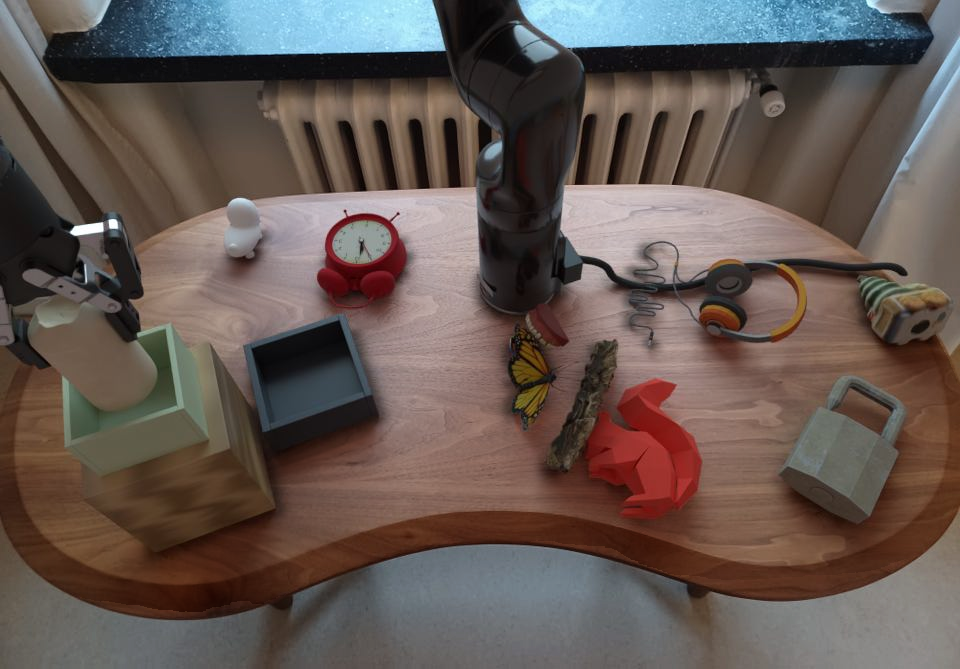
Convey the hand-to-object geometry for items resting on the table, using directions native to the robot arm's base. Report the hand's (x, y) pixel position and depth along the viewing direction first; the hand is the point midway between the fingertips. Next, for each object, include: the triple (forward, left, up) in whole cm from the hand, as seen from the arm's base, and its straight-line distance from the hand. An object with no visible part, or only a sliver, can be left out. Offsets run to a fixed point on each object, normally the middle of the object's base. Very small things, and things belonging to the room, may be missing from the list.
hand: (89, 345), depth 50 cm
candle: (0, 0, -6) cm, 6 cm away
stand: (0, 0, -25) cm, 25 cm away
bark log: (-40, +9, -25) cm, 48 cm away
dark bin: (-13, -6, -25) cm, 29 cm away
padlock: (-56, +26, -23) cm, 66 cm away
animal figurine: (-43, +15, -25) cm, 52 cm away
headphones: (-60, +1, -25) cm, 65 cm away
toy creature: (-10, -31, -25) cm, 41 cm away
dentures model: (-39, -1, -18) cm, 43 cm away
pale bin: (0, 0, -11) cm, 11 cm away
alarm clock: (-23, -21, -25) cm, 40 cm away
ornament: (-78, +15, -21) cm, 82 cm away
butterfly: (-38, +5, -23) cm, 44 cm away
